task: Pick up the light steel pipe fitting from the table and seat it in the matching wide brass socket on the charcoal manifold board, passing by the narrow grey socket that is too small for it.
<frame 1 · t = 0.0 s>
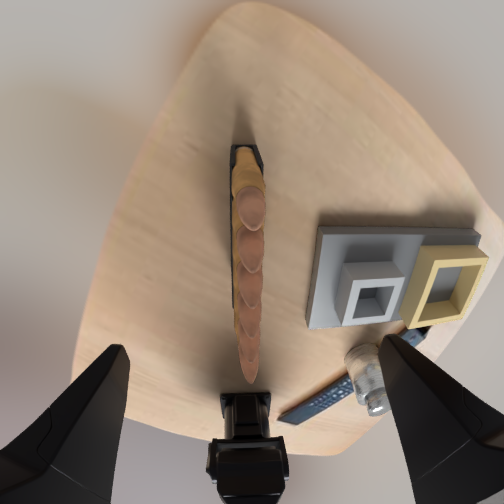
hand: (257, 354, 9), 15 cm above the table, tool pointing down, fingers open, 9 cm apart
ammunition clip: (243, 212, 23), on the table
manifold board: (397, 273, 26), on the table
steel fitting: (361, 355, 32), on the table
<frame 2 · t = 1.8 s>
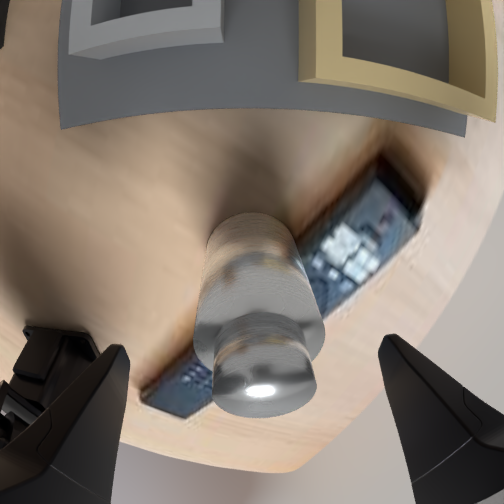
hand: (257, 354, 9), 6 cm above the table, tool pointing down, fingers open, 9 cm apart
manifold board: (277, 1, 9), on the table
steel fitting: (251, 253, 15), on the table
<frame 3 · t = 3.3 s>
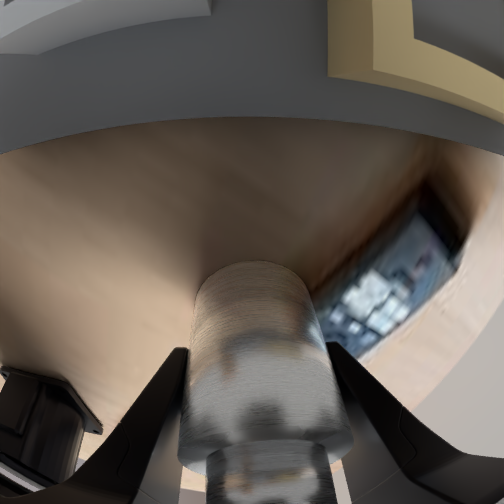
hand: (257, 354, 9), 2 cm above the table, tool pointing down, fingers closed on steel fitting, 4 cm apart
steel fitting: (253, 309, 11), on the table, touching gripper
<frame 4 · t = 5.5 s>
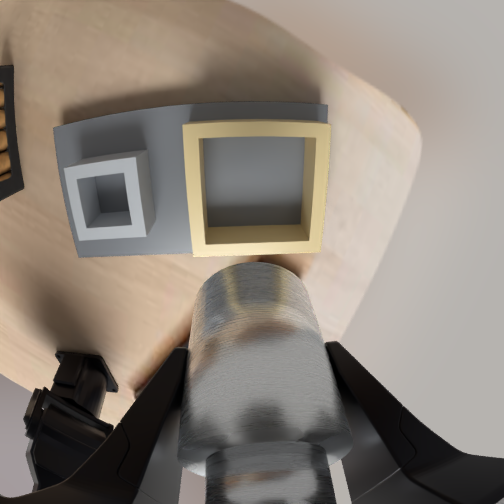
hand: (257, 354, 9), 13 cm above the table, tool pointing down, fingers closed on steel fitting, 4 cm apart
ammunition clip: (9, 128, 16), on the table
manifold board: (186, 177, 19), on the table
steel fitting: (252, 311, 11), point 11 cm above the table, touching gripper
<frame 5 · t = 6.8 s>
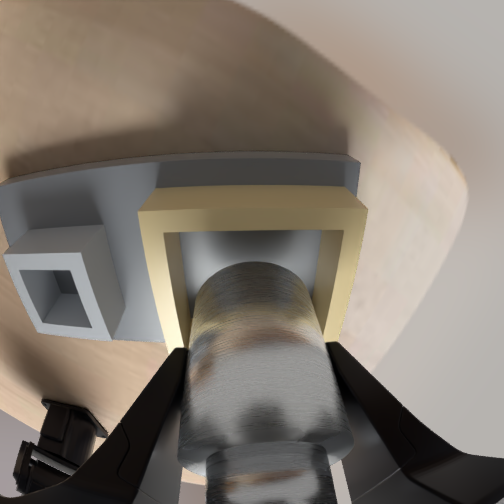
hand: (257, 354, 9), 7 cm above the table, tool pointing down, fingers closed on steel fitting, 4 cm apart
manifold board: (161, 253, 15), on the table
steel fitting: (253, 310, 11), point 4 cm above the table, touching gripper
when the fingers open (5 cm above the table, at t = 7.9 s): steel fitting drops 1 cm, resting on manifold board.
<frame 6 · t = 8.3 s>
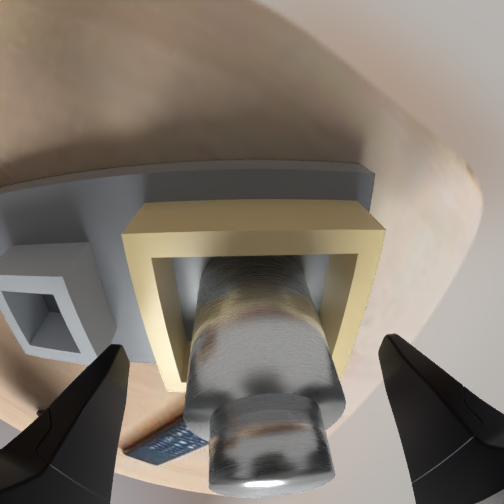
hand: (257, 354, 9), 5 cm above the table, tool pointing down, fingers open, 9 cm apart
manifold board: (153, 271, 13), on the table
steel fitting: (252, 290, 12), point 2 cm above the table, touching manifold board
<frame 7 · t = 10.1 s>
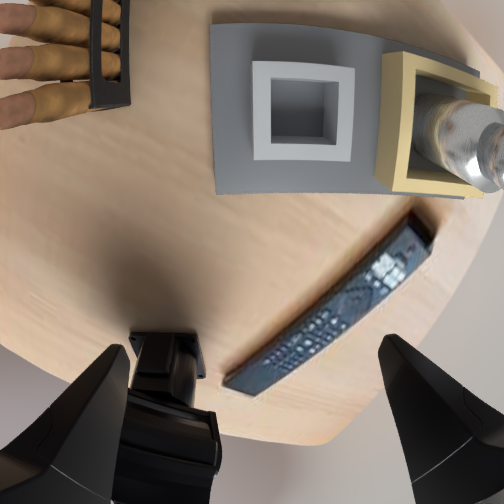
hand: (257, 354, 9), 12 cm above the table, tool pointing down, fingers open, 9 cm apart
ammunition clip: (116, 30, 12), on the table
manifold board: (361, 112, 16), on the table
steel fitting: (431, 125, 15), point 2 cm above the table, touching manifold board
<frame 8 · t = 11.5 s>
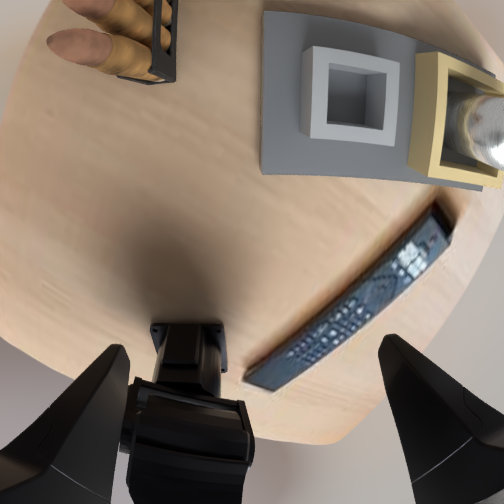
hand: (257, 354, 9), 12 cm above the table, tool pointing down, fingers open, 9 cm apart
ammunition clip: (163, 8, 13), on the table
manifold board: (394, 105, 16), on the table
steel fitting: (455, 121, 15), point 2 cm above the table, touching manifold board
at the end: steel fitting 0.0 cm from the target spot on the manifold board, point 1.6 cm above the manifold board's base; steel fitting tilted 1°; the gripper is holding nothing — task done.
